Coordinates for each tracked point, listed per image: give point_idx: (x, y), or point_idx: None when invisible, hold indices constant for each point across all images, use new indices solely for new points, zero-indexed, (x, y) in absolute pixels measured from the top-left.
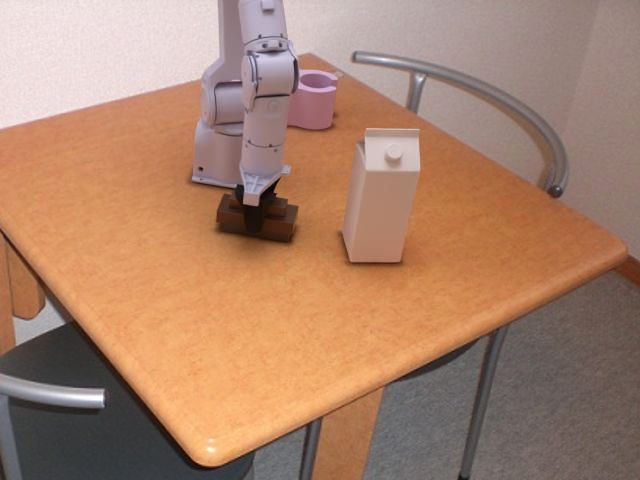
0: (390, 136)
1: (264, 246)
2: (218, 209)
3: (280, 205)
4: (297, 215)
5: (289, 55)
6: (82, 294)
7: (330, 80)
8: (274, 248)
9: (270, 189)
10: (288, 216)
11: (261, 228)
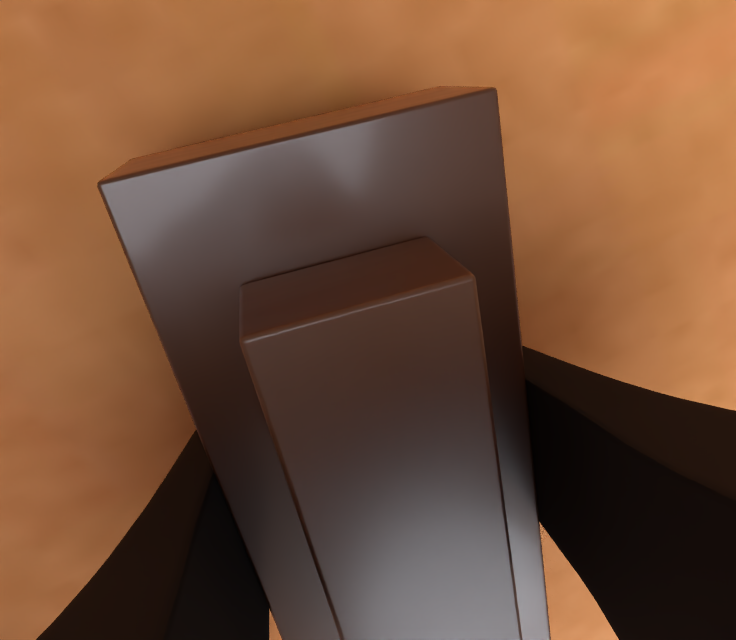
0: None
1: (518, 254)
2: None
3: (450, 352)
4: (146, 158)
5: None
6: None
7: None
8: (515, 182)
9: (199, 603)
10: (388, 202)
11: (528, 349)
